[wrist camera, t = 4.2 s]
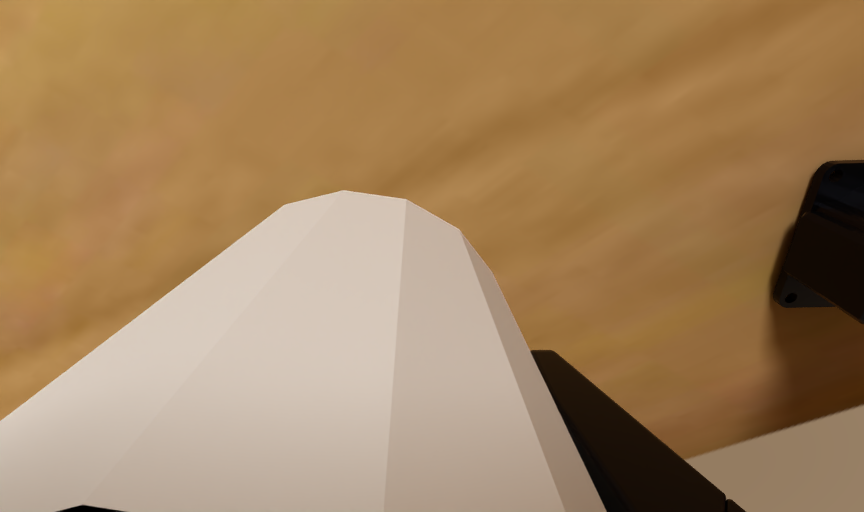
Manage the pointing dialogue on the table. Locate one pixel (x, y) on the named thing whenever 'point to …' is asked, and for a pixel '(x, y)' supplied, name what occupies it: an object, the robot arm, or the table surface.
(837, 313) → the table surface
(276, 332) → the white cup
